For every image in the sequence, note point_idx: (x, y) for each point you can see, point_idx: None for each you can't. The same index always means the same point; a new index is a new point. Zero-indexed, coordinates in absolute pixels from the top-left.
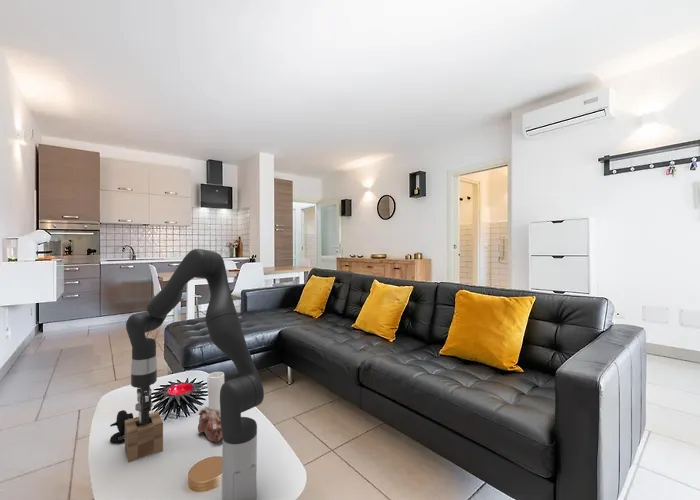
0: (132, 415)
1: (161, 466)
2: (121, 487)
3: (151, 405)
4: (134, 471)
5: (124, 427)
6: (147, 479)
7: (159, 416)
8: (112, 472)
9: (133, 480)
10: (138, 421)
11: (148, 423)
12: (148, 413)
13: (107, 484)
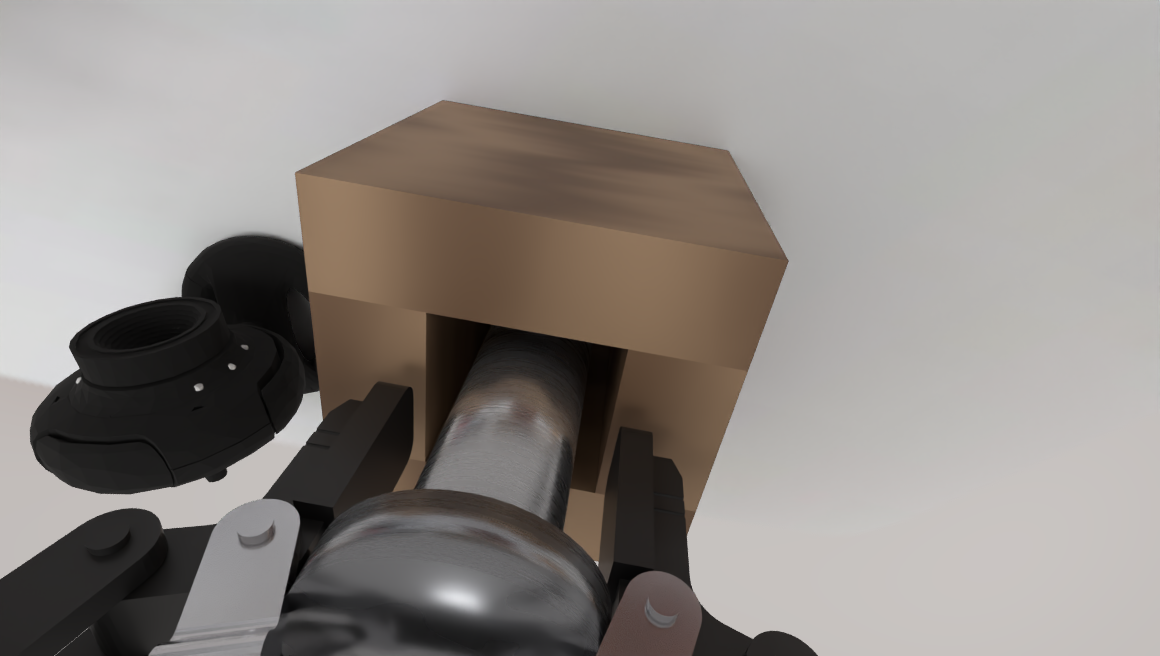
0: (147, 360)
1: (953, 245)
2: (906, 474)
3: (559, 568)
4: (813, 386)
5: (297, 403)
6: (998, 363)
7: (508, 219)
8: None
9: (909, 418)
10: (432, 421)
11: (567, 361)
12: (653, 536)
13: (796, 504)
